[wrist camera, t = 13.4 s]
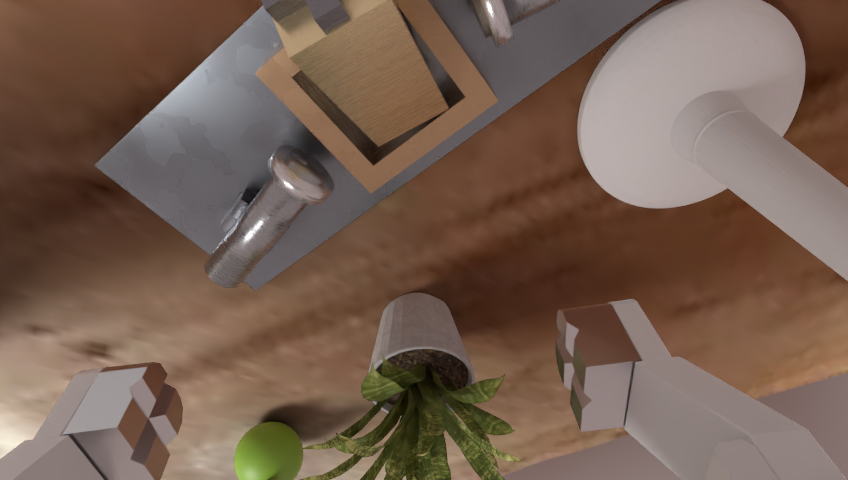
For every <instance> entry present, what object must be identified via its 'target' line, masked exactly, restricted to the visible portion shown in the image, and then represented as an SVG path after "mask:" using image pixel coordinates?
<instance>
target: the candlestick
mask: <svg viewBox="0 0 848 480" xmlns="http://www.w3.org/2000/svg"><path fill="white" fill-rule="evenodd" d="M804 82H805V56H804V50H803V47H802V43H801V40H800V38H799V36H798V33H797V32H796V30H795V28H794V27H793V25H792V24H791V22H790V21H789V20H788V19H787V18H786V17H785V16H784V15H783V14H782V13H781V12H780V11H779V10H777V9H776V8H775V7H773V6H772V5H770V4H768V3H766V2H764V1H762V0H677V1H674V2H672V3H670V4H667V5H665V6H663V7H661V8H659V9H657V10H656V11H654V12H652V13H650V14H649V15H647V16H646V17H644V18H643V19H642V20H640V21H639V22H637V23H636V24H635V25H634V26H632V27H631V28H630V29H629V30H628V31H627V32H625V33H624V34H623V35H622V36H621V37H620V38H619V39H618V40H617V41H616V42H615V43H614V45H613V46H612V47H611V48H610V49H609V50H608V52H607V53H606V54H605V56H604V57H603V58H602V60H601V61H600V63H599V64H598V66H597V67H596V69H595V71H594V72H593V74H592V76H591V78H590V80H589V82H588V84H587V87H586V89H585V92H584V95H583V98H582V101H581V105H580V109H579V115H578V124H577V135H578V144H579V149H580V153H581V156H582V159H583V161H584V163H585V166H586V167H587V169H588V171H589V172H590V174H591V175H592V177H593V178H594V180H595V181H596V182H597V183H598V184H599V185H600V186H601V187H602V188H603V189H604V190H605V191H606V192H608V193H609V194H611V195H612V196H614V197H615V198H617V199H619V200H621V201H623V202H626V203H629V204H631V205H635V206H639V207H646V208H673V207H680V206H685V205H689V204H692V203H696V202H699V201H702V200H704V199H707V198H709V197H712V196H714V195H716V194H718V193H720V192H722V191H724V190H726V189H727V188H728V189H730V190H731V191H732V192H733V193H735V194H736V195H737V196H739V197H740V198H741V199H743V200H744V201H745V202H746V203H748V204H749V205H750V206H752V207H753V208H754V209H755V210H757V211H758V212H759V213H761V214H762V215H763V216H764V217H766V218H767V219H768V220H770V221H771V222H772V223H773V224H775V225H776V226H777V227H779V228H780V229H781V230H782V231H784V232H785V233H786V234H788V235H789V236H790V237H792V238H793V239H794V240H795V241H797V242H798V243H799V244H801V245H802V246H803V247H804V248H806V249H807V250H808V251H810V252H811V253H812V254H813V255H815V256H816V257H817V258H819V259H820V260H821V261H822V262H824V263H825V264H826V265H828V266H829V267H830V268H831V269H833V270H834V271H835V272H837V273H838V274H839V275H840V276H842V277H843V278H844V279H846V280H847V281H848V187H846V186H845V185H844V184H843V183H841V182H840V181H839V180H837V179H836V178H835V177H833V176H832V175H831V174H830V173H828V172H827V171H826V170H824V169H823V168H822V167H820V166H819V165H818V164H817V163H815V162H814V161H813V160H811V159H810V158H809V157H807V156H806V155H805V154H804V153H802V152H801V151H800V150H798V149H797V148H796V147H795V146H793V145H792V144H791V143H789V142H788V141H787V140H785V139H784V138H783V136H784V134H785V133H786V131H787V129H788V128H789V126H790V124H791V122H792V120H793V118H794V116H795V113H796V111H797V109H798V106H799V103H800V100H801V97H802V93H803V88H804Z"/></svg>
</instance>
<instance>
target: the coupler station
mask: <svg viewBox="0 0 848 480" xmlns="http://www.w3.org/2000/svg"><path fill="white" fill-rule="evenodd" d="M394 1H395V3H396V5H397V7H398V9H399V11H400V13H401V15H402V16H403V18H404V20H405V22H406V24H407V26H408V28H409V30H410V32H411V34H412V36H413V38H414V40H415V41H416V43H417V45H418V47H419V49H420V51H421V53H422V55H423V57H424V59H425V61H426V63H427V65H428V67H429V69H430V71H431V73H432V75H433V77H434V79H435V81H436V83H437V85H438V87H439V89H440V91H441V93H442V95H443V97H444V99H445V101H446V103H447V105H448V107H449V109H448V110H446V111H444V112H442V113H440V114H438V115H436V116H435V117H433V118H431V119H429V120H427V121H425V122H424V123H422V124H420V125H418V126H416V127H414V128H413V129H411V130H409V131H407V132H405V133H403V134H402V135H400V136H398V137H396V138H394V139H392V140H391V141H389V142H387V143H385V144H383V145H381V146H379V147H378V146H377V145H376V144H375V143H374V142H373V141H372V140H371V139H370V138H369V137H368V136H367V135H366V134H365V133H364V132H363V131H362V130H361V129H360V128H359V127H358V126H357V125H356V124H355V123H354V122H353V121H352V120H351V119H350V118H349V117H348V116H347V115H346V114H345V113H344V112H343V111H342V110H341V109H340V108H339V107H338V106H337V105H336V104H335V103H334V102H333V101H332V100H331V99H330V98H329V97H328V96H327V95H326V94H325V93H324V92H323V91H322V90H321V89H320V88H319V87H318V86H317V85H316V84H315V83H314V82H313V81H312V80H311V79H310V78H309V77H308V76H307V75H306V74H305V73H304V72H303V71H302V70H300V69H299V68H298V67H297V66H296V65H295V64H294V63H293V62H292V61H291V60H290V59H289V57H288V55H287V52H286V50H285V47H284V45H283V42H282V40H281V38H280V35H279V33H278V30H277V28H276V26H275V23H274V21H273V18H272V17H271V15H270V14H269V13H268V12H267V11H266V10H265V9H264V6H263V5H262V6H261V7H260V8H259V9H258V10H257V11H256V12H255V13H254V14H253V15H252V16H251V17H250V18H249V19H248V20H247V21H246V22H244V23H243V24H242V25H241V26H240V27H239V28H238V29H237V30H236V31H235V32H234V33H233V34H232V35H231V36H230V37H229V38H228V39H227V40H225V41H224V42H223V43H222V44H221V45H220V46H219V47H218V48H217V49H216V50H215V51H214V52H213V53H212V54H211V55H210V56H209V57H208V58H206V59H205V60H204V61H203V62H202V63H201V64H200V65H199V66H198V67H197V68H196V69H195V70H194V71H193V72H192V73H191V74H190V75H189V76H187V77H186V78H185V79H184V80H183V81H182V82H181V83H180V84H179V85H178V86H177V87H176V88H175V89H174V90H173V91H172V92H171V93H170V94H168V95H167V96H166V97H165V98H164V99H163V100H162V101H161V102H160V103H159V104H158V105H157V106H156V107H155V108H154V109H153V110H152V111H151V112H149V113H148V114H147V115H146V116H145V117H144V118H143V119H142V120H141V121H140V122H139V123H138V124H137V125H136V126H135V127H134V128H133V129H132V130H130V131H129V132H128V133H127V134H126V135H125V136H124V137H123V138H122V139H121V140H120V141H119V142H118V143H117V144H116V145H115V146H114V147H113V148H111V149H110V150H109V151H108V152H107V153H106V154H105V155H104V156H103V157H102V158H101V159H100V160H99V161H98V162H97V163H96V164H95V165H94V166H95V167H97V168H98V169H99V170H100V171H102V172H103V173H104V174H106V175H107V176H108V177H110V178H111V179H112V180H113V181H115V182H116V183H117V184H119V185H120V186H121V187H122V188H124V189H125V190H126V191H128V192H129V193H130V194H132V195H133V196H134V197H135V198H137V199H138V200H139V201H141V202H142V203H143V204H144V205H146V206H147V207H148V208H150V209H151V210H152V211H153V212H155V213H156V214H157V215H159V216H160V217H161V218H163V219H164V220H165V221H166V222H168V223H169V224H170V225H172V226H173V227H174V228H175V229H177V230H178V231H179V232H181V233H182V234H183V235H184V236H186V237H187V238H188V239H190V240H191V241H192V242H194V243H195V244H196V245H197V246H199V247H200V248H201V249H203V250H204V251H205V252H206V253H208V254H209V255H211V254H212V253H213V251H214V250H215V249H216V247H217V246H218V245H219V243H220V242H221V241H222V240H223V238H224V237H225V236H226V234H227V233H228V232H227V231H226V230H224V229H222V228H220V226H221V223H222V221H223V219H224V217H225V215H226V214H227V213H228V211H229V210H230V209H231V207H232V206H233V205H234V203H235V202H236V201H237V199H238V198H239V197H240V195H241V194H242V193H243V191H244V190H245V189H247V190H249V191H251V192H252V193H254V194H256V195H257V194H258V193H259V191H260V190H261V189H262V188H263V186H264V185H265V184H266V182H267V181H268V180H269V178H270V177H271V174H270V172H269V169H268V160H269V159H270V157H271V156H272V155H273V153H274V152H275V151H276V149H277V148H278V147H280V146H282V145H289V146H293V147H296V148H299V149H301V150H303V151H305V152H306V153H308V154H310V155H312V156H313V157H314V158H316V159H317V160H318V161H319V162H320V163H321V164H322V165H323V166H324V167H325V169H326V170H327V171H328V172H329V174H330V175H331V177H332V179H333V182H334V191H333V192H332V193H331V194H330V196H329V197H328V198H327V199H326V200H325V201H324V202H323V203H322V204H320V205H311V204H307V205H306V207H305V208H304V209H303V210H302V211H301V213H300V214H299V215H298V216H297V217H296V219H295V220H294V221H293V222H292V223H291V225H290V227H289V229H288V230H287V232H286V233H285V234H284V235H283V236H282V238H281V239H280V240H279V241H278V242H277V244H276V245H275V246H274V247H273V248H272V250H271V251H270V252H269V253H268V254H266V255H265V256H264V257H263V258H262V259H261V261H260V262H259V263H258V264H257V265H256V267H255V268H254V269H253V270H252V271H251V273H250V274H249V275H248V276H247V277H246V279H245V280H244V282H245V283H247V284H248V285H249V286H250V287H252V288H253V289H254V290H257V289H259V288H260V287H261V286H263V285H264V284H265V283H267V282H268V281H270V280H271V279H272V278H274V277H275V276H277V275H278V274H279V273H281V272H282V271H284V270H285V269H286V268H288V267H289V266H291V265H292V264H293V263H295V262H296V261H298V260H299V259H300V258H302V257H303V256H305V255H306V254H307V253H309V252H310V251H312V250H313V249H314V248H316V247H317V246H319V245H320V244H321V243H323V242H324V241H326V240H327V239H328V238H330V237H331V236H333V235H334V234H335V233H337V232H338V231H340V230H341V229H342V228H344V227H345V226H347V225H348V224H349V223H351V222H352V221H354V220H355V219H356V218H358V217H359V216H361V215H362V214H363V213H365V212H366V211H368V210H369V209H370V208H372V207H373V206H375V205H376V204H377V203H379V202H380V201H381V200H383V199H384V198H386V197H387V196H388V195H390V194H391V193H393V192H394V191H395V190H397V189H398V188H400V187H401V186H402V185H404V184H405V183H407V182H408V181H409V180H411V179H412V178H414V177H415V176H416V175H418V174H419V173H421V172H422V171H423V170H425V169H426V168H428V167H429V166H430V165H432V164H433V163H435V162H436V161H437V160H439V159H440V158H442V157H443V156H444V155H446V154H447V153H449V152H450V151H451V150H453V149H454V148H456V147H457V146H458V145H460V144H461V143H463V142H464V141H465V140H467V139H468V138H470V137H471V136H472V135H474V134H475V133H477V132H478V131H479V130H481V129H482V128H484V127H485V126H486V125H488V124H489V123H491V122H492V121H493V120H495V119H496V118H497V117H499V116H500V115H502V114H503V113H504V112H506V111H507V110H509V109H510V108H511V107H513V106H514V105H516V104H517V103H518V102H520V101H521V100H523V99H524V98H525V97H527V96H528V95H530V94H531V93H532V92H534V91H535V90H537V89H538V88H539V87H541V86H542V85H544V84H545V83H546V82H548V81H549V80H551V79H552V78H553V77H555V76H556V75H558V74H559V73H560V72H562V71H563V70H565V69H566V68H567V67H569V66H570V65H572V64H573V63H574V62H576V61H577V60H579V59H580V58H581V57H583V56H584V55H586V54H587V53H588V52H590V51H591V50H593V49H594V48H595V47H597V46H598V45H600V44H601V43H602V42H604V41H605V40H606V39H608V38H609V37H611V36H612V35H613V34H615V33H616V32H618V31H619V30H620V29H622V28H623V27H625V26H626V25H627V24H629V23H630V22H632V21H633V20H634V19H636V18H637V17H639V16H640V15H641V14H643V13H644V12H646V11H647V10H648V9H650V8H651V7H653V6H654V5H655V4H657V3H658V2H660V1H661V0H562V1H560V2H558V3H556V4H554V5H552V6H550V7H548V8H546V9H544V10H542V11H540V12H538V13H536V14H534V15H532V16H530V17H528V18H526V19H524V20H522V21H520V22H518V23H516V24H514V25H512V26H511V27H512V31H513V36H514V40H512V41H510V42H508V43H506V44H504V45H502V46H500V47H498V48H497V47H496V46H495V44H494V42H493V40H492V38H491V36H490V37H488V38H485V36H484V34H483V32H482V30H481V28H480V25H479V23H478V21H477V18H476V16H475V14H474V11H473V9H472V6H471V3H470V1H469V0H394Z"/></svg>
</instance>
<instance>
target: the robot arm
mask: <svg viewBox="0 0 848 480" xmlns="http://www.w3.org/2000/svg"><path fill="white" fill-rule="evenodd" d="M556 324H557V327H558V329H559V332H560V334H561V335H560V336H559V337H558V338H557V339H556V357H557V365H558V369H559V372H560V376H561V379H562V382H563V385H564V386H565V387H567V388H568V389H569V390H571V399H570V404H571V407H572V409H573V412H574V415H575V417H576V420H577V423H578V425H579V428H580V431H581V432H582V431H592V430H602V429H612V428H622V427H625V430H626V431H627V432H628V433H629V434H630V435H631V436H633V437H634V438H635V439H636V440H637V441H638V442H639V443H641V444H642V445H643V446H644V447H645V448H646V449H647V450H649V451H650V452H651V453H652V454H653V455H654V456H655V457H657V458H658V459H659V460H660V461H661V462H662V463H663V464H665V465H666V466H667V467H668V468H669V469H670V470H671V471H672V472H673V473H675V474H676V475H677V476H678V477H679V478H680V479H681V480H847V479H846V478H845V477H844V475H843V474H842V473H841V472H840V470H839V469H838V468H837V467H836V465H835V464H834V463H833V461H832V460H831V459H830V458H829V456H828V455H827V454H826V452H825V451H824V450H823V449H822V447H821V446H820V445H819V444H818V442H817V441H816V440H815V438H814V437H813V436H812V435H811V433H810V432H809V431H808V429H806V428H804V427H802V426H801V425H799V424H797V423H795V422H794V421H792V420H790V419H788V418H787V417H785V416H783V415H781V414H780V413H777V412H776V411H774V410H773V409H771V408H769V407H767V406H765V405H764V404H762V403H760V402H759V401H757V400H755V399H753V398H752V397H750V396H748V395H746V394H745V393H743V392H741V391H739V390H738V389H736V388H734V387H732V386H731V385H729V384H727V383H725V382H724V381H722V380H720V379H718V378H717V377H715V376H713V375H711V374H710V373H708V372H706V371H704V370H703V369H701V368H699V367H697V366H696V365H694V364H692V363H690V362H689V361H687V360H685V359H683V358H682V357H672V356H671V355H670V353H669V351H668V350H667V348H666V347H665V345H664V343H663V342H662V340H661V339H660V337H659V336H658V334H657V332H656V331H655V329H654V328H653V326H652V324H651V323H650V321H649V320H648V318H647V316H646V315H645V313H644V312H643V310H642V308H641V307H640V305H639V304H638V302H637V301H636V300H634V299H628V300H621V301H614V302H608V303H601V304H594V305H587V306H579V307H572V308H565V309H558V313H557V323H556ZM166 377H167V373H166V371H165V370H164V368H163V367H162V365H161V364H160V363H155V362H151V363H142V364H133V365H123V366H114V367H106V368H100V369H90V370H82V371H80V372H79V373H77V374H76V375H74V377H73V378H72V380H71V381H70V383H69V384H68V386H67V388H66V389H65V391H64V392H63V394H62V395H61V397H60V398H59V400H58V402H57V403H56V405H55V406H54V408H53V409H52V411H51V412H50V414H49V416H48V417H47V419H46V420H45V422H44V423H43V425H42V426H41V428H40V430H39V431H38V433H37V434H36V436H35V437H34V439H33V440H27V441H24V442H23V443H21V444H20V445H19V446H17V447H16V448H15V449H13V450H12V451H11V452H9V453H8V454H7V455H5V456H4V457H3V458H1V459H0V480H160V479H161V477H162V474H163V472H164V469H165V466H166V464H167V461H168V458H169V456H170V454H169V451H168V449H167V447H166V445H167V444H168V443H169V442H171V441H172V440H173V439H174V438H175V437H176V436H177V435H178V432H179V429H180V426H181V423H182V412H183V407H182V402H181V398H180V396H179V394H178V392H177V390H176V389H175V388H173V387H171V386H169V385H167V384H166V383H164V382H165V379H166Z"/></svg>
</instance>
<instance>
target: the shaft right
mask: <svg viewBox="0 0 848 480" xmlns="http://www.w3.org/2000/svg"><path fill="white" fill-rule="evenodd" d="M469 1H470V3H471V6H472V9H473V11H474V14H475V16H476V18H477V21H478V23H479V25H480V28H481V30H482V32H483V34H484V36H485V38H488V37H490V36H491V38H492V40H493V42H494V44H495V46H496V47H497V48H498V47H500V46H502V45H504V44H506V43H508V42H510V41H512V40H514V36H513V31H512V27H511V26H512V25H514V24H516V23H518V22H520V21H522V20H524V19H526V18H528V17H530V16H532V15H534V14H536V13H538V12H540V11H542V10H544V9H546V8H548V7H550V6H552V5H554V4H556V3H558V2H560V1H562V0H469Z"/></svg>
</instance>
